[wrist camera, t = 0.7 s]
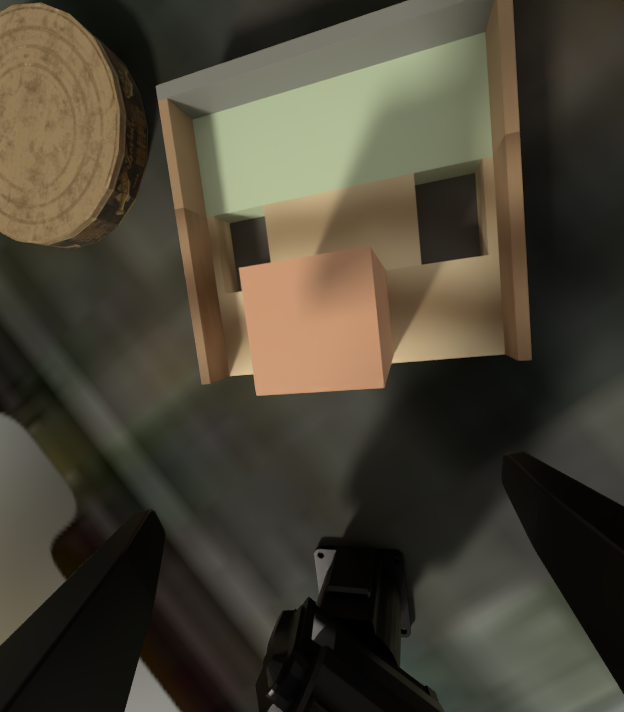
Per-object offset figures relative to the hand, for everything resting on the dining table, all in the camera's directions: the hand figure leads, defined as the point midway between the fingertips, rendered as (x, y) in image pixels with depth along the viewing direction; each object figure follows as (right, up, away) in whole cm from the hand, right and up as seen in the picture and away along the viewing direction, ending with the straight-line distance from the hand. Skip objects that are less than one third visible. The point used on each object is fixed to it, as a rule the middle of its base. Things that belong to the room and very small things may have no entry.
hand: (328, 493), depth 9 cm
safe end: (+1, +17, +14) cm, 22 cm away
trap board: (+2, +8, +15) cm, 17 cm away
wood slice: (-20, +20, +20) cm, 35 cm away
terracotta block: (+2, +6, +13) cm, 14 cm away
